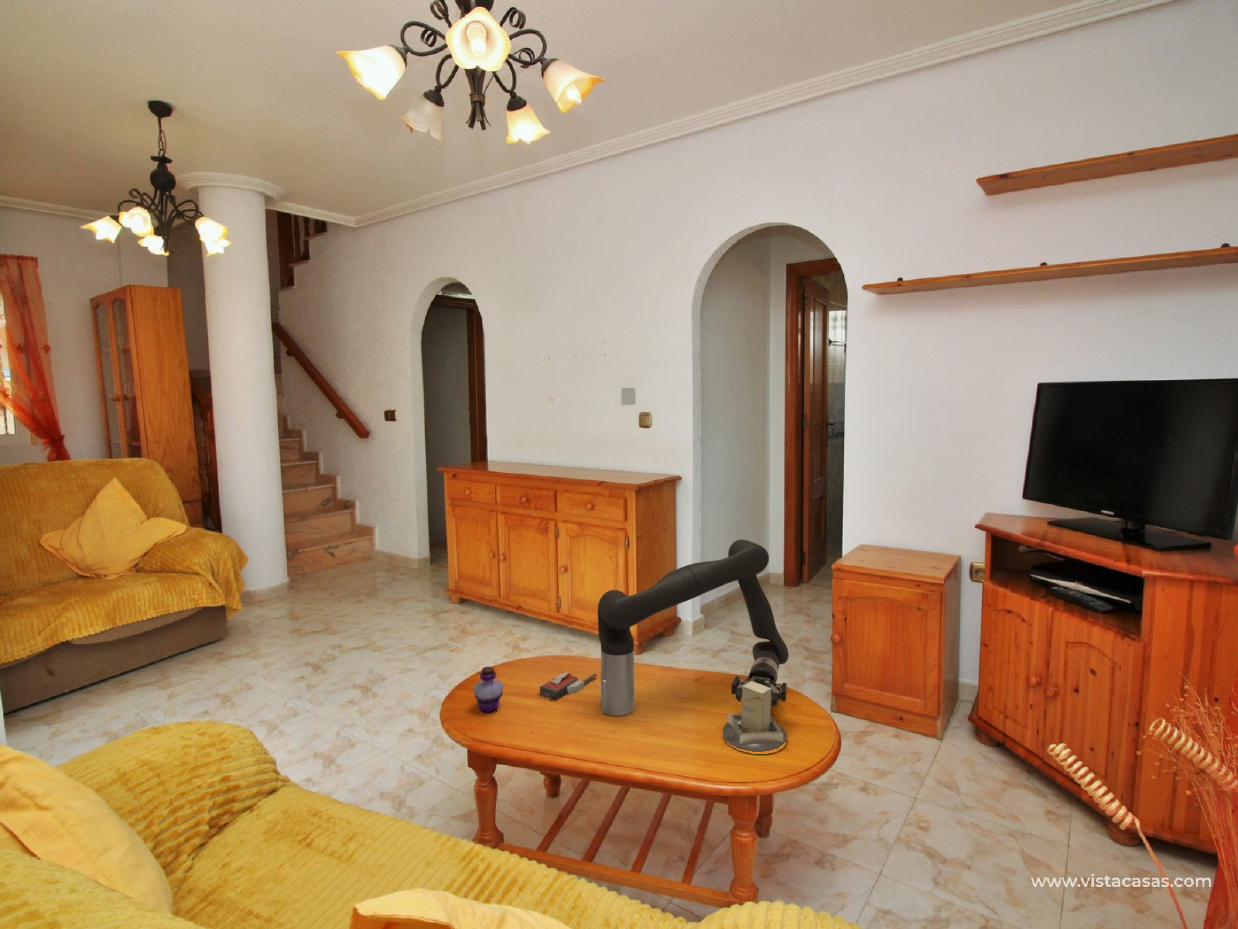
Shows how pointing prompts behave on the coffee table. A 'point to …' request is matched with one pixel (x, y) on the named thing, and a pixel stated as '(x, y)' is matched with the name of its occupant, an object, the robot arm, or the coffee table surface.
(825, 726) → the coffee table surface
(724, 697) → the coffee table surface
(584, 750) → the coffee table surface
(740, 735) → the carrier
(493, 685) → the potion bottle
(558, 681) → the walkie-talkie
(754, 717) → the skincare box
